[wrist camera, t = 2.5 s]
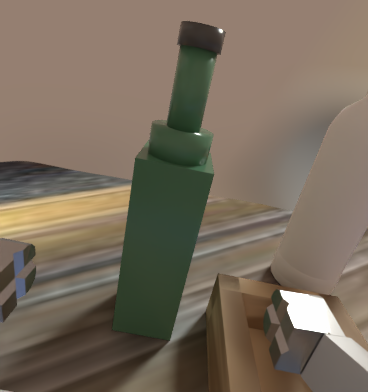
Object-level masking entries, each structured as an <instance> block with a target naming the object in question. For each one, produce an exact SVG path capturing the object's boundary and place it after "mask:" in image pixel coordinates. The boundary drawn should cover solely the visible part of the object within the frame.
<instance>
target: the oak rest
mask: <svg viewBox="0 0 368 392" xmlns="http://www.w3.org/2000/svg"><path fill="white" fill-rule="evenodd" d="M276 289H279V290H285V291H291V292H296V293H302V294H311V295H317V296H321V297H322V298H323V299H324V300H325V302H326V304H327V305H328V307H329V309H330V311H331V312H332V314H333V316H334V317H335V319H336V321H337V323H338V324H339V326H340V328H341V329H342V331H343V333H344V335H345V336H346V337H348V338H351V339H353V340H354V341H355V342H356V343H357V344H359V345H360V346H361V347H362V348H364V349H365V350H366V351H367V352H368V344H367V342H366V340H365V339H364V337H363V336H362V334H361V332H360V331H359V329H358V328H357V326H356V325H355V323H354V321H353V320H352V318H351V317H350V315H349V314H348V312H347V310H346V309H345V307H344V306H343V304H342V303H341V301H340V299H339V298H338V297H336V296H331V295H326V294H321V293H316V292H310V291H305V290H300V289H295V288H290V287H285V286H280V285H275V284H270V283H265V282H259V281H254V280H249V279H244V278H239V277H234V276H229V275H224V274H219V273H218V275H217V278H216V281H215V284H214V288H213V291H212V294H211V297H210V300H209V303H208V306H207V309H206V329H207V356H208V384H209V392H313V391H312V390H311V389H310V388H309V386H308V385H307V384H306V382H305V381H304V380H303V378H302V377H301V374H296V373H291V372H286V371H281V370H276V369H274V367H273V363H272V359H271V356H270V352H269V347H270V345H271V342H270V341H269V340H268V339H267V338H266V337H265V333H264V328H263V320H264V314H265V311H266V308H267V307H268V306H270V305H272V304H273V303H272V299H271V296H272V294H273V292H274V291H275V290H276Z"/></svg>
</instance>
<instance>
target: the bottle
mask: <svg viewBox="0 0 368 392" xmlns="http://www.w3.org/2000/svg"><path fill="white" fill-rule="evenodd" d="M367 227H368V92H367V94H366V96H365V97H364V98H362V99H360V100H358V101H356V102H354V103H353V104H351V105H349V106H347V107H345V108H344V109H343V110H342V111H341V112H340V113H339V114H338V115H337V117H336V118H335V119H334V120H333V122H332V123H331V124H330V125H329V128H328V130H327V132H326V135H325V137H324V139H323V142H322V144H321V147H320V149H319V151H318V154H317V156H316V159H315V161H314V163H313V166H312V168H311V170H310V173H309V175H308V178H307V180H306V182H305V185H304V187H303V190H302V192H301V194H300V197H299V199H298V201H297V204H296V206H295V209H294V211H293V213H292V216H291V218H290V221H289V223H288V225H287V228H286V230H285V233H284V235H283V237H282V240H281V242H280V244H279V246H278V248H277V250H276V252H275V254H274V257H273V258H274V259H273V261H272V264H271V272H272V274H273V276H274V278H275V279H276V280H277V281H278V282H279V283H280V285H281V286H285V287H290V288H295V289H300V290H305V291H310V292H316V293H321V294H326V295H330V293H331V291H332V290H333V289H334V288H335V286H336V285H337V283H338V281H339V279H340V275H341V274H342V272H343V270H344V268H345V266H346V265H347V263H348V261H349V259H350V258H351V256H352V254H353V252H354V250H355V249H356V247H357V245H358V243H359V241H360V240H361V238H362V236H363V234H364V233H365V231H366V229H367Z"/></svg>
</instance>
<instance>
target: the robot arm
mask: <svg viewBox="0 0 368 392" xmlns="http://www.w3.org/2000/svg"><path fill="white" fill-rule="evenodd" d="M34 256H35V246H34V245H32V244H29V243H24V242H19V241H14V240H10V239H5V238H0V322H4V321H5V320H6V318H7V317H8V316H9V315H10V313H11V312H12V311H13V310H14V308H15V307H16V306H17V298H20V297H22V296H24V295H26V293H27V292H28V291H29V289H30V288H31V286H32V284H33V282H34V279H35V274H36V265H35V264H34V263H33V262H32V260H31V259H32V258H33V257H34ZM271 299H272V303H273V304H272V305H270V306H268V307H267V308H266V311H265V314H264V320H263V328H264V333H265V337H266V338H267V339H268V340H269V341H270V342H271V345H270V347H269V352H270V356H271V359H272V363H273V367H274V369H276V370H281V371H286V372H291V373H296V374H301V377H302V378H303V380H304V381H305V382H306V384H307V385H308V386H309V388H310V389H311V390H312V391H313V392H368V352H367V351H366V350H365V349H364V348H362V347H361V346H360V345H359V344H357V343H356V342H355V341H354V340H353V339H351V338H348V337H346V336H345V335H344V333H343V331H342V329H341V328H340V326H339V324H338V323H337V321H336V319H335V317H334V316H333V314H332V312H331V311H330V309H329V307H328V305H327V304H326V302H325V300H324V299H323V298H322V297H321V296H317V295H311V294H302V293H296V292H291V291H285V290H279V289H276V290H275V291H274V292H273V294H272V296H271ZM0 392H12V391H6V390H0Z"/></svg>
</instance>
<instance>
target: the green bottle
mask: <svg viewBox="0 0 368 392" xmlns="http://www.w3.org/2000/svg"><path fill="white" fill-rule="evenodd" d="M224 37H225V31H223V30H221V29H219V28H216V27H213V26H210V25H206V24H202V23H197V22H190V21H182V22H181V25H180V31H179V37H178V43H177V45H179V46H180V50H179V56H178V62H177V67H176V73H175V78H174V84H173V90H172V96H171V101H170V107H169V113H168V119H167V121H166V120H155V121H153V122H152V126H151V133H150V139H149V140H148V142H147V143H146V144H145V146H144V147H143V148H142V150H141V151H140V152H139V154H138V155H137V156H136V158H135V164H134V173H133V179H132V186H131V194H130V201H129V208H128V216H127V223H126V231H125V238H124V245H123V253H122V260H121V267H120V275H119V282H118V289H117V297H116V304H115V311H114V319H113V326H112V330H115V331H120V332H126V333H131V334H136V335H142V336H147V337H153V338H158V339H164V340H169V341H170V338H171V334H172V331H173V327H174V323H175V319H176V316H177V312H178V308H179V304H180V300H181V297H182V293H183V289H184V285H185V282H186V278H187V274H188V270H189V267H190V263H191V259H192V255H193V252H194V248H195V244H196V240H197V237H198V233H199V229H200V225H201V222H202V218H203V214H204V210H205V206H206V203H207V199H208V195H209V191H210V188H211V184H212V180H213V176H214V172H213V165H212V159H211V154H210V153H209V151H210V147H211V143H212V139H213V133H211V132H210V131H208V130H205V129H203V128H201V124H202V120H203V115H204V111H205V106H206V102H207V97H208V93H209V88H210V84H211V80H212V76H213V71H214V66H215V62H216V58H217V55H220V54H221V50H222V46H223V42H224Z"/></svg>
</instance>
